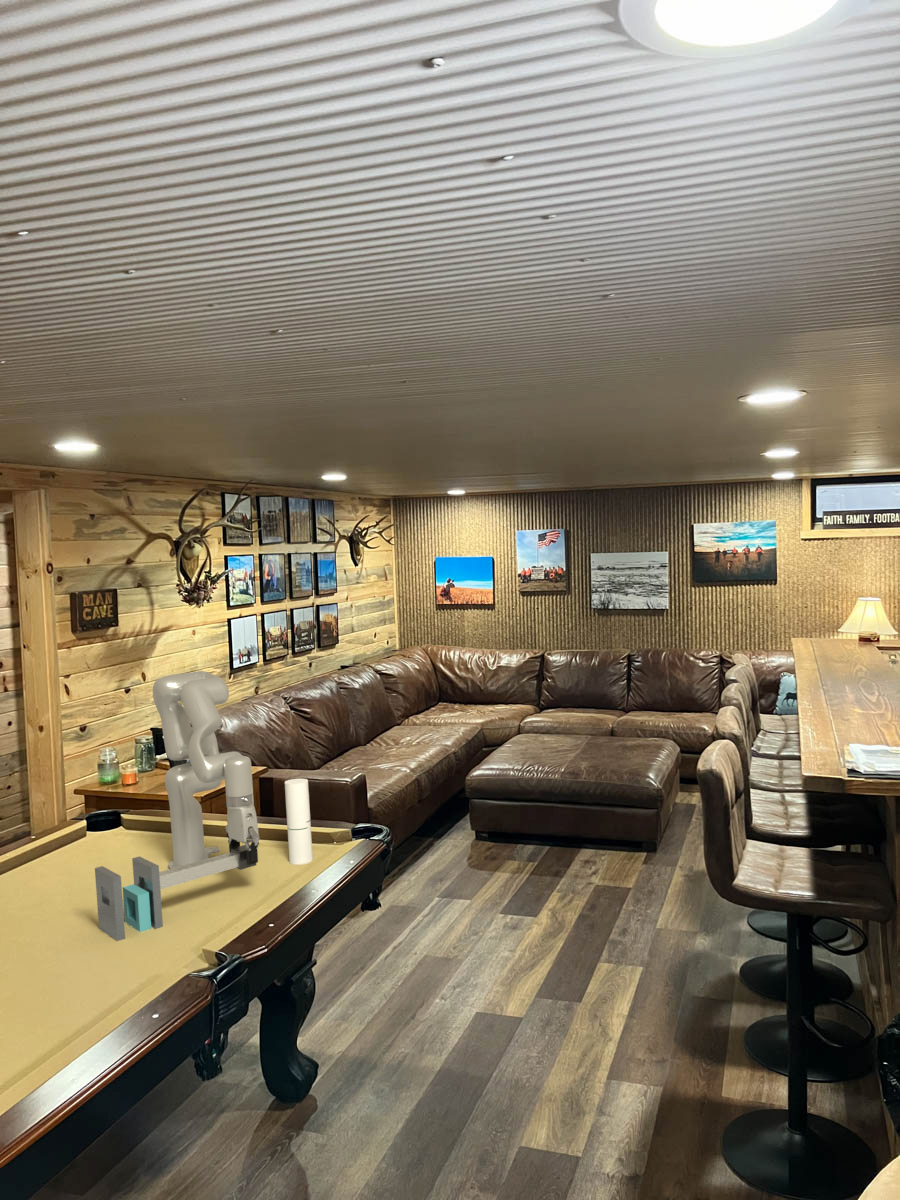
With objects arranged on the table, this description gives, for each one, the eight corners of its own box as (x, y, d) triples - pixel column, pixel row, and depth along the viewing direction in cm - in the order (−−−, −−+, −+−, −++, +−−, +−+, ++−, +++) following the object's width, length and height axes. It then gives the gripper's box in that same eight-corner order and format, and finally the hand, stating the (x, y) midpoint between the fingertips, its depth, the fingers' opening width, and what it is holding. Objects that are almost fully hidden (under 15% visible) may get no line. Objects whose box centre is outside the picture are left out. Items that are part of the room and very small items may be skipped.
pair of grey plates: (143, 915, 248) (139, 856, 247) (162, 926, 239) (158, 865, 238) (99, 928, 240) (94, 868, 239) (117, 941, 231) (112, 878, 230)
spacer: (136, 919, 245) (133, 884, 245) (151, 928, 238) (148, 892, 238) (125, 922, 243) (122, 887, 243) (140, 932, 236) (137, 895, 236)
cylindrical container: (317, 858, 289) (312, 779, 288) (304, 865, 282) (299, 784, 281) (298, 856, 292) (293, 778, 291) (285, 863, 285) (279, 783, 284)
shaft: (247, 861, 265) (246, 844, 265) (256, 865, 261) (255, 847, 261) (143, 891, 244) (142, 873, 244) (151, 896, 241) (150, 877, 240)
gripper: (267, 802, 257) (271, 863, 257) (236, 793, 270) (240, 850, 270) (243, 808, 252) (247, 870, 252) (213, 798, 265) (217, 857, 265)
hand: (243, 860), depth 261 cm, fingers open, 9 cm apart
